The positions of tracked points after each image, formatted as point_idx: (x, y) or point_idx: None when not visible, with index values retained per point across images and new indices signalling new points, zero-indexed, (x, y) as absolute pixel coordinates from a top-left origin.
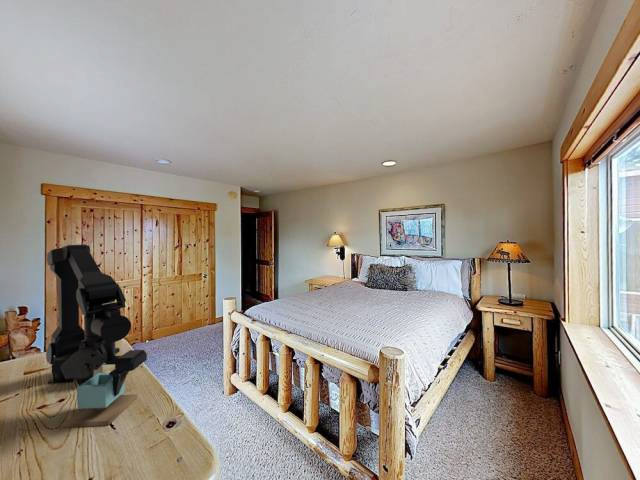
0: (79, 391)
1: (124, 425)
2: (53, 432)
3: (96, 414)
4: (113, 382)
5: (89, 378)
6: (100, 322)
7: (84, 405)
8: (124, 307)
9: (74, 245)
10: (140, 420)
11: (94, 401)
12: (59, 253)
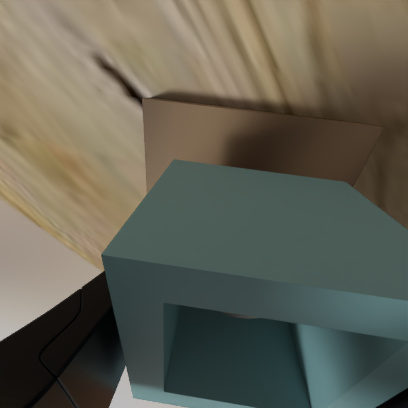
0: None
1: (73, 82)
2: (405, 87)
3: (238, 167)
4: (100, 310)
5: (386, 405)
6: None
7: (308, 183)
8: None
9: None
10: (30, 109)
11: (244, 186)
12: None
